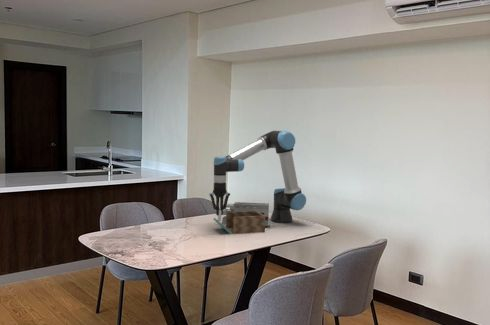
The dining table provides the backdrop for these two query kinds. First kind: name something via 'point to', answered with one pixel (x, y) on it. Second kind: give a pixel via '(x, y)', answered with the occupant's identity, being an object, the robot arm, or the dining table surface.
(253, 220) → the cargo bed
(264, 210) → the grey rectangular block
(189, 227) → the dining table surface
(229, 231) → the tailgate
